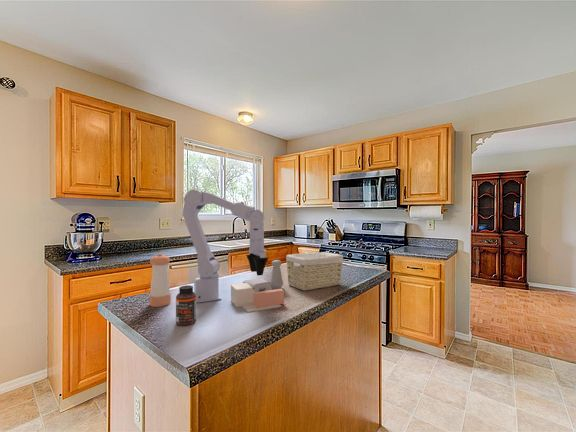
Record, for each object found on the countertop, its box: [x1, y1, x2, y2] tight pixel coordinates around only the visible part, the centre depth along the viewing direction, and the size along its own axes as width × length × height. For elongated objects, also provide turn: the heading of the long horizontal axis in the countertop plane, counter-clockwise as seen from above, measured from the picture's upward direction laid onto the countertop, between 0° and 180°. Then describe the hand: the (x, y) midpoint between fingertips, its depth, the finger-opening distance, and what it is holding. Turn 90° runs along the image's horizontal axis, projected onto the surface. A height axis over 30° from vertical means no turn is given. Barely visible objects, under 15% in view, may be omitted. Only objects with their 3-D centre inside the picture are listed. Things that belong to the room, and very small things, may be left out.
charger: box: [242, 277, 272, 292], centre depth 124 cm, size 5×9×15 cm
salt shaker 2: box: [269, 259, 284, 290], centre depth 125 cm, size 6×6×13 cm
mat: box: [241, 304, 282, 313], centre depth 101 cm, size 13×6×1 cm, turn 116°
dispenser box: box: [230, 282, 254, 308], centre depth 106 cm, size 7×8×6 cm
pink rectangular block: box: [254, 288, 285, 308], centre depth 102 cm, size 11×2×5 cm, turn 116°
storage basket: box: [285, 251, 344, 291], centre depth 131 cm, size 24×16×15 cm
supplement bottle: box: [175, 284, 197, 327], centre depth 86 cm, size 6×6×11 cm
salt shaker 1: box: [149, 253, 172, 308], centre depth 105 cm, size 7×7×19 cm
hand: (256, 273), depth 111 cm, fingers open, 7 cm apart
